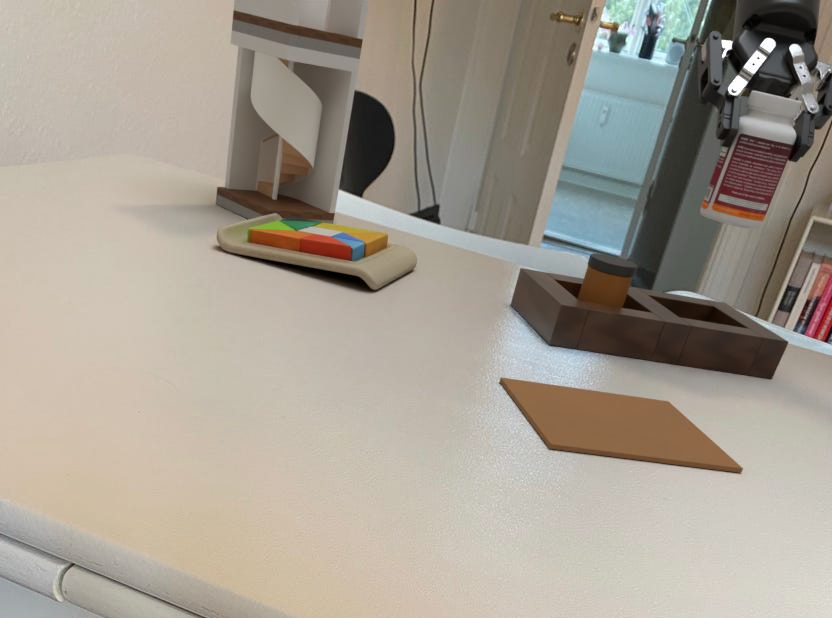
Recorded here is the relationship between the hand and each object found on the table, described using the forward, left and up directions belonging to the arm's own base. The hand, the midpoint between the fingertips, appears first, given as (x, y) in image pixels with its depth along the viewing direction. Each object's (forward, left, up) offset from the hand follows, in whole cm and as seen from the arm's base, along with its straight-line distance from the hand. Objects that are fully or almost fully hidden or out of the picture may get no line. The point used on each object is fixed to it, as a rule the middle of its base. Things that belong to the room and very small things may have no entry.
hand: (763, 147), depth 85 cm
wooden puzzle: (+37, -18, -20) cm, 46 cm away
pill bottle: (0, -2, -7) cm, 7 cm away
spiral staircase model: (+41, -38, -20) cm, 60 cm away
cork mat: (+17, +24, -20) cm, 36 cm away
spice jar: (+9, -4, -20) cm, 22 cm away
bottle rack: (+3, -4, -20) cm, 21 cm away
